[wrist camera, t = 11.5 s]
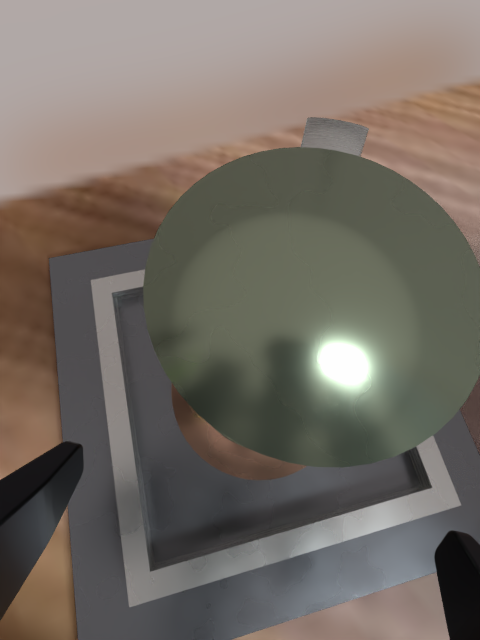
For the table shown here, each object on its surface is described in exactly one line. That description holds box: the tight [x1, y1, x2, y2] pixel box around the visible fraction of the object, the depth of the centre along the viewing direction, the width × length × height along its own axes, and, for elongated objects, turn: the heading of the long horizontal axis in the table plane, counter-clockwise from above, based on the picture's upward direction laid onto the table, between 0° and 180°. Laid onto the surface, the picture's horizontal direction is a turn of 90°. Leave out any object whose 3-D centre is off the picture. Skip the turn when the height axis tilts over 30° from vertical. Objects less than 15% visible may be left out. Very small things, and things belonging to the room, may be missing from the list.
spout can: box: [143, 117, 480, 467], centre depth 12 cm, size 8×6×13 cm
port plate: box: [49, 239, 480, 640], centre depth 18 cm, size 20×20×2 cm
